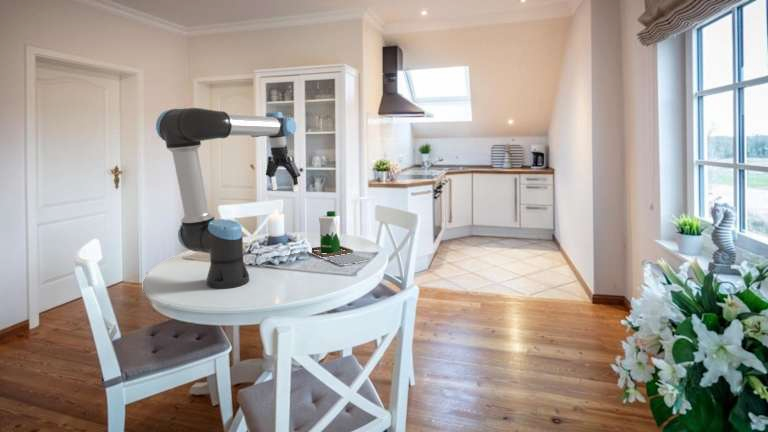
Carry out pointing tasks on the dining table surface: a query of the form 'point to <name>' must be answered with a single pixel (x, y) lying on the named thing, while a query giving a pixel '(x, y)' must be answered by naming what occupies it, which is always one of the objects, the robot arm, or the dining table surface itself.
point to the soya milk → (329, 233)
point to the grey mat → (347, 258)
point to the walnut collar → (332, 253)
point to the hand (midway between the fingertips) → (285, 190)
